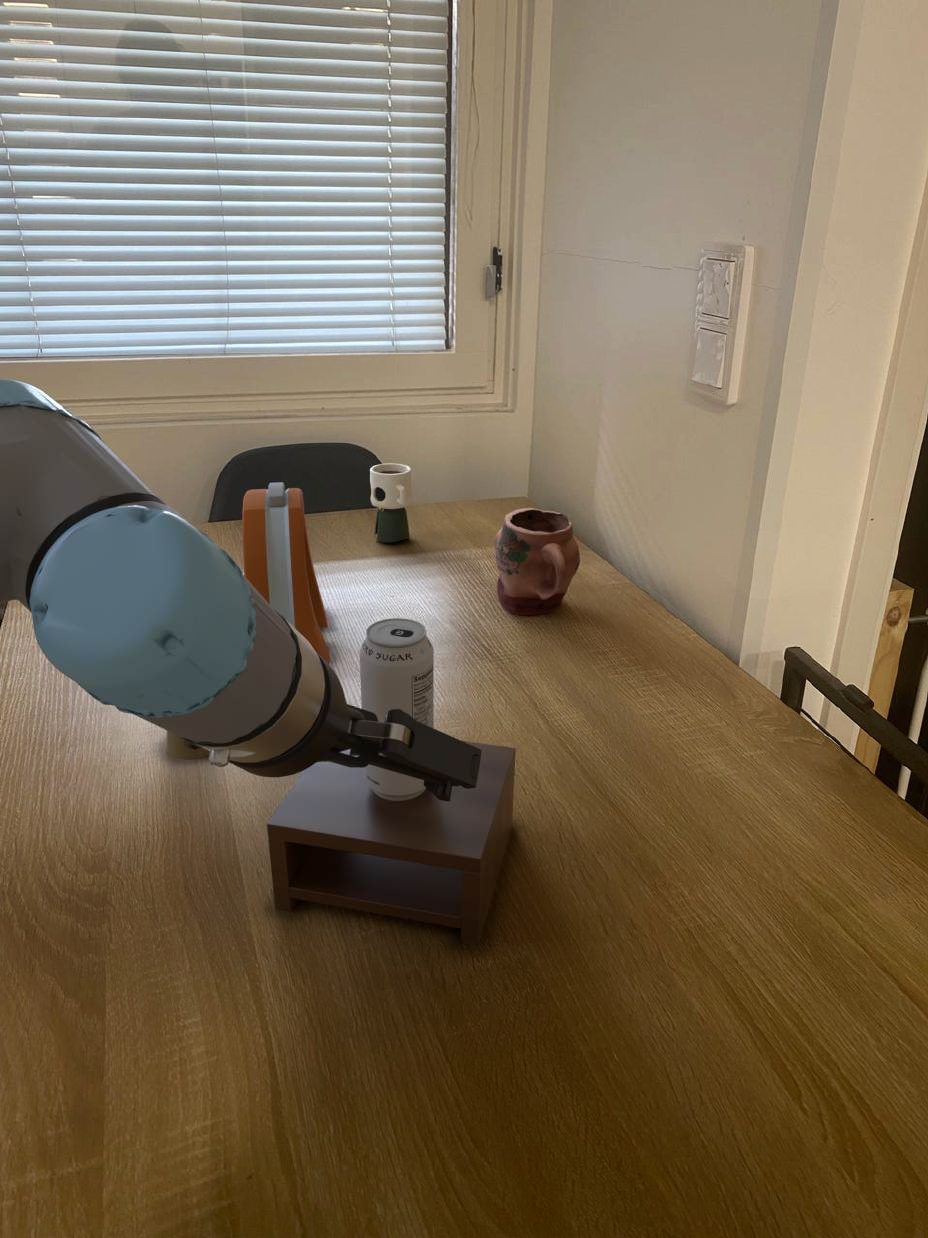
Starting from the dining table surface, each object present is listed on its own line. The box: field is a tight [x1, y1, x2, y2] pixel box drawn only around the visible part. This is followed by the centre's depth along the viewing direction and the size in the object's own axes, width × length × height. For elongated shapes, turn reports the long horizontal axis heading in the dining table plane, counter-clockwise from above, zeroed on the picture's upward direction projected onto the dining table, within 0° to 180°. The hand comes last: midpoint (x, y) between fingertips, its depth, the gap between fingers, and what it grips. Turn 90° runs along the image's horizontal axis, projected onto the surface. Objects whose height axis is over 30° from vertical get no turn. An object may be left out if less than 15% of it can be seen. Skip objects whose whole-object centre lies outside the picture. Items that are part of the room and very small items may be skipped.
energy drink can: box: [359, 617, 435, 801], centre depth 77 cm, size 6×6×15 cm
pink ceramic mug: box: [493, 507, 581, 616], centre depth 134 cm, size 20×12×14 cm, turn 22°
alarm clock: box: [241, 481, 331, 664], centre depth 120 cm, size 22×10×23 cm, turn 9°
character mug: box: [369, 462, 413, 543], centre depth 159 cm, size 11×7×13 cm, turn 28°
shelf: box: [266, 740, 517, 947], centre depth 82 cm, size 16×18×10 cm
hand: (359, 769), depth 68 cm, fingers open, 13 cm apart
